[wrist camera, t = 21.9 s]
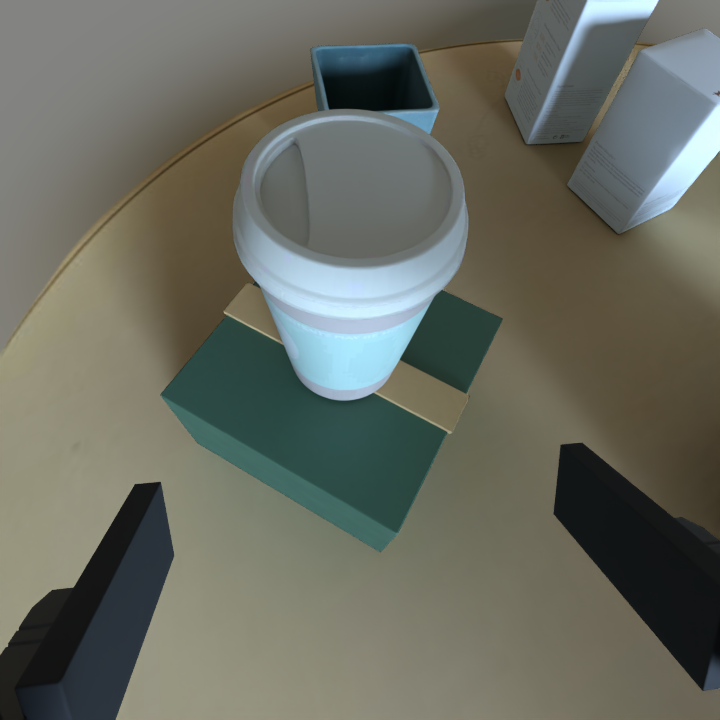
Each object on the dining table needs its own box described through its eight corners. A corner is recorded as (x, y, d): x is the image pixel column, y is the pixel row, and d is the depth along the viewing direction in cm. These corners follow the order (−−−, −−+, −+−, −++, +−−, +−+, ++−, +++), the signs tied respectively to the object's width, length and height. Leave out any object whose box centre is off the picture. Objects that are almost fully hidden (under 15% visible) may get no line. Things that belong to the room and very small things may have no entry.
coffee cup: (310, 269, 29) (300, 72, 18) (441, 323, 28) (512, 145, 17) (234, 384, 25) (167, 219, 14) (383, 453, 24) (428, 327, 13)
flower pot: (421, 199, 44) (442, 108, 36) (325, 208, 42) (325, 116, 34) (400, 136, 48) (414, 41, 40) (312, 142, 46) (309, 45, 38)
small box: (583, 143, 49) (662, -1, 37) (524, 146, 48) (586, -1, 36) (557, 93, 52) (622, -52, 41) (502, 95, 52) (552, -53, 40)
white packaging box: (673, 210, 45) (787, 78, 34) (616, 236, 43) (717, 106, 32) (618, 161, 48) (707, 24, 37) (562, 184, 46) (638, 46, 35)
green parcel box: (194, 441, 32) (154, 391, 25) (305, 294, 38) (300, 219, 31) (383, 554, 29) (402, 535, 22) (470, 377, 35) (507, 317, 28)
